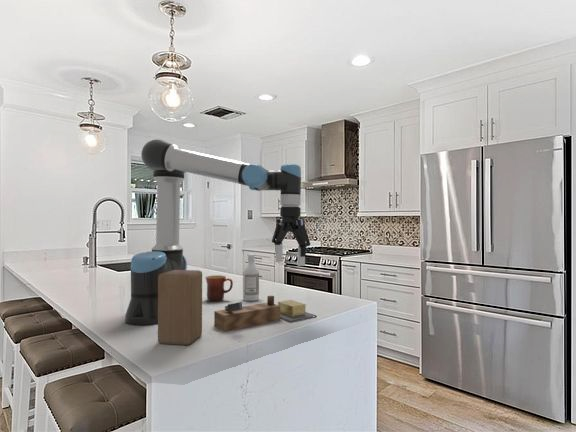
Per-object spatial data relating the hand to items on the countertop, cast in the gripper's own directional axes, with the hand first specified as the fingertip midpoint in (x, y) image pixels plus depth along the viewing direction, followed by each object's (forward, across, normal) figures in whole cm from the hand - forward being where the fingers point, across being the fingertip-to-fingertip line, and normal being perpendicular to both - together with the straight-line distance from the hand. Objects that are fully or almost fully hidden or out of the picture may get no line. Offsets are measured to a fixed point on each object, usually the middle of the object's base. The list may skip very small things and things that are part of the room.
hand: (289, 263), depth 137 cm
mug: (+20, +38, +9) cm, 44 cm away
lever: (+13, 0, +25) cm, 28 cm away
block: (+20, -3, +42) cm, 47 cm away
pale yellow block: (+18, -1, -1) cm, 19 cm away
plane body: (+19, 0, +17) cm, 26 cm away
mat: (+19, -1, -1) cm, 19 cm away
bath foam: (+20, +31, -3) cm, 37 cm away
